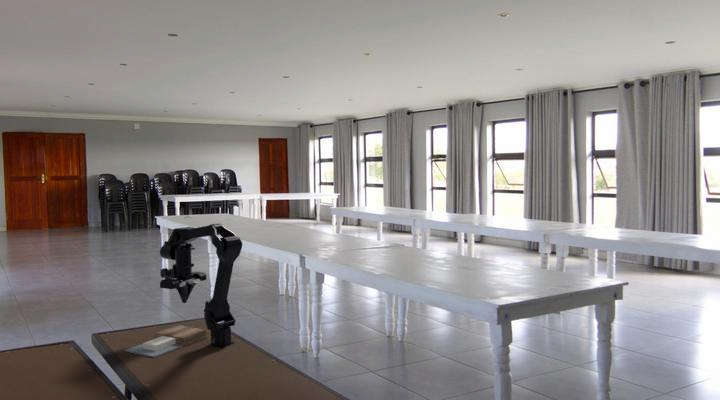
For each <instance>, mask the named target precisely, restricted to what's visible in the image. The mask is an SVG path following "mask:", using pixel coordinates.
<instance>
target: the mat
mask: <svg viewBox="0 0 720 400" xmlns="http://www.w3.org/2000/svg"><path fill="white" fill-rule="evenodd" d="M183 347H184V346H183V345H179V344H174V345H171V346H168V347H166V348H163V349H160V350H158V351H153V350H148V349H143V343H142V344H141V343H140V344H139V345H136V346H133V347H130V348H128V349H124V351H125V352H127V353H129V354H130V353H131V354H136V355H141V356H145V357H149V358H154V359H155V358H157V357H161V356H163V355H165V354H168V353H170V352H173V351H176V350H179V349H181V348H183Z"/></svg>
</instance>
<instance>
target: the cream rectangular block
mask: <svg viewBox="0 0 720 400" xmlns="http://www.w3.org/2000/svg"><path fill="white" fill-rule="evenodd" d="M142 344H143V349H148V350H153V351H158V350H160V349H163V348H166V347H168V346H171V345H174V344H176V338H173V337H167V336H161V337H159V338H156V339H155V338H154V339H153V338H152V339H150V340H148V341H145V342H143V343H142Z"/></svg>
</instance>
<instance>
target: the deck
mask: <svg viewBox="0 0 720 400" xmlns="http://www.w3.org/2000/svg"><path fill="white" fill-rule="evenodd" d="M161 336H167V337H173V338H176V344H179V345H183V347H186V346H188V345H189V346H190V345H191V344H194V343H196V342H199V341H201V340H205V339H207V330H206V329H203V328H198V327H191V326H186V325H179V324H178V325H175V326H171V327H169V328H165V329H161V330H160V331H159V330H158V331H155V333H154V339H156V338H159V337H161Z"/></svg>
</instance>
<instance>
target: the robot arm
mask: <svg viewBox="0 0 720 400" xmlns="http://www.w3.org/2000/svg"><path fill="white" fill-rule="evenodd" d="M219 236H220V237H219ZM205 237H210V239H211V244H212V245H213V246H214V247H215V249H216V250H215V254H216V256H217V258H218V264H217V265H218V266H217V272H216V277H215V281H214V282H215V283H214V289H213V294H212V298H211V299H209V300H205V302H204V303H205V304H204V309H203V313H204V315H203V316H204V321H205V325H206V328H207V330H209V331H210V342H211V343H209V344H208V346H209V347H210V346H211V347H215V348H220V349H223V348H226V347H228V346H230V345H233V344H235V341H233V340H232V328H231V327H234V326H235V324H236V319H235V317H234V316H233V313H231V306H230V304H229V302H228V296H229V295H228V294H229V289H230V285H231V279H232V273H233V268H234V263H235V261H236V260H237V258H239V256H240V254H241V251H242V249H243V241H242V240H241V238H240V237H239V236H238V235H237V234H236V233H235V232H234V231H232V230H230V229H228V228H227V227H225V225H223V224H222V223H211V224H209V225H204V226H199V227H193V226H187V227H186V226H185V227H177V228H173V229H172V232H171V234H170V236H169V239H168V240H165V241H164V242H163V243H164V244H163V245H161V247H160V250H159V255H160V257H161V258H162V259H164V260H173V261H174V262H175V263H174V264H172V267H171V268H169V269H168V268H167V267H164V268H161V269H160V271H159V273H160V278H161V280H160V281H159V288H160V289H167V290H174V289H176V290H177V292H178V295H179V298H180V299H181V303H182V304H187V302H188V299H189V298H190V295H191V293H192V291H193V290H194V288H195V286H197V283H196V282H194V280H199V281H201V282H203V281H206V280H207V274H206V272H205V271H204V272H203V271H193V269H192V268H193V267H195V263H192V251H193V250H195V249H196V248H195V246H194V245H192V243H191V242H194V241H196V240H197V239H200V238H205ZM163 278H164V279H163Z"/></svg>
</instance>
